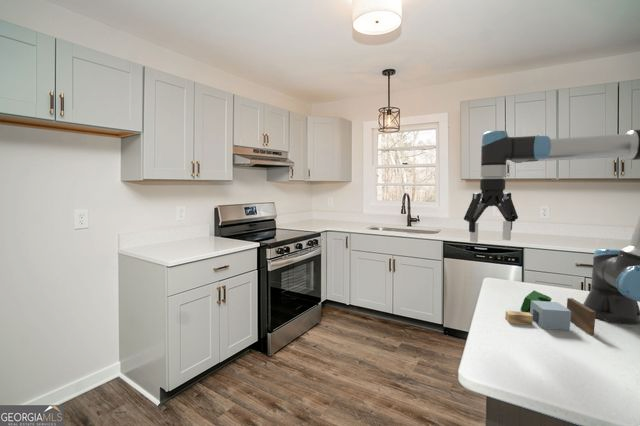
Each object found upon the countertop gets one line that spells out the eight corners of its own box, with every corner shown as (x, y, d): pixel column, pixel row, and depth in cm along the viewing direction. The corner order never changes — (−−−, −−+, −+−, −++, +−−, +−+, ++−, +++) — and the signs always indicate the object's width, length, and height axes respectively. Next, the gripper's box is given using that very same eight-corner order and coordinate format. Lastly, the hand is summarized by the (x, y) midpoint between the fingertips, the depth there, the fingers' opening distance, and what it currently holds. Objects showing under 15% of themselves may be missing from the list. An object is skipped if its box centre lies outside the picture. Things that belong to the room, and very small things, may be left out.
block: (555, 319, 111) (557, 302, 110) (569, 330, 103) (571, 311, 102) (529, 317, 112) (530, 300, 112) (541, 327, 104) (542, 309, 104)
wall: (570, 318, 112) (572, 298, 111) (593, 334, 100) (595, 311, 100) (565, 318, 112) (567, 298, 112) (588, 334, 100) (590, 311, 100)
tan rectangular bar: (528, 321, 110) (528, 312, 110) (532, 325, 107) (532, 316, 107) (505, 319, 111) (505, 310, 111) (508, 323, 108) (509, 314, 108)
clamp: (536, 327, 115) (542, 308, 111) (518, 318, 119) (523, 300, 115) (549, 307, 122) (555, 289, 117) (531, 299, 126) (536, 281, 121)
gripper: (513, 178, 120) (510, 237, 122) (453, 178, 113) (452, 240, 115) (531, 178, 113) (528, 240, 114) (469, 178, 106) (467, 244, 107)
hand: (490, 240), depth 114 cm, fingers open, 13 cm apart
